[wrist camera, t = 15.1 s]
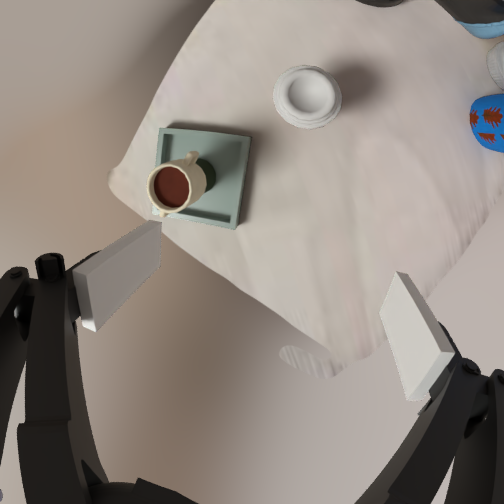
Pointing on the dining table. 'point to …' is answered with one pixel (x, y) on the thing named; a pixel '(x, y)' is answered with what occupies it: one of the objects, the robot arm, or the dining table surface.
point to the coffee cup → (307, 97)
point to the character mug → (180, 183)
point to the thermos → (489, 121)
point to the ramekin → (497, 64)
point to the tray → (224, 163)
